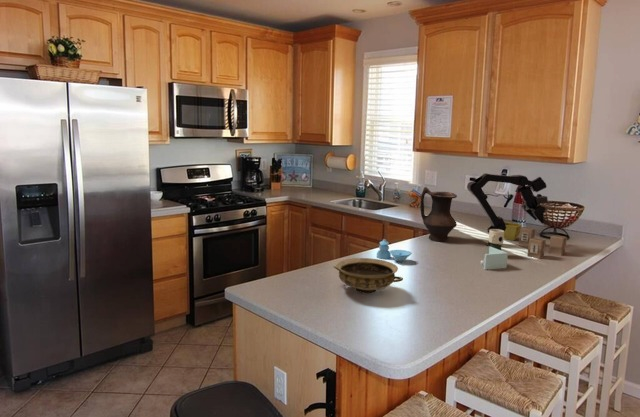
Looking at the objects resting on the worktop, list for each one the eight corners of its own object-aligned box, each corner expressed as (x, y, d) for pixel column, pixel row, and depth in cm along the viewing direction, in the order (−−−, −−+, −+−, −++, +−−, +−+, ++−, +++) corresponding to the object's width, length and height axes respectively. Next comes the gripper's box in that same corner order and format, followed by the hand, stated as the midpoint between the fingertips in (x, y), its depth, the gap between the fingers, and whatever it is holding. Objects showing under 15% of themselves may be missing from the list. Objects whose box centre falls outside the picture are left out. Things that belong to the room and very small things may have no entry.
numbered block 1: (529, 246, 269) (530, 230, 268) (518, 244, 273) (520, 228, 272) (533, 244, 274) (535, 228, 272) (523, 242, 278) (524, 227, 276)
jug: (452, 236, 287) (456, 186, 282) (458, 244, 269) (462, 190, 264) (416, 234, 289) (419, 184, 284) (419, 242, 271) (422, 188, 266)
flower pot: (516, 242, 278) (517, 226, 277) (500, 239, 284) (501, 224, 282) (520, 239, 285) (521, 224, 284) (505, 236, 291) (506, 222, 289)
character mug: (497, 258, 242) (500, 233, 239) (483, 256, 246) (485, 230, 244) (505, 254, 250) (507, 230, 248) (491, 252, 254) (494, 227, 252)
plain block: (560, 255, 251) (562, 238, 250) (548, 253, 255) (550, 236, 254) (564, 253, 255) (566, 237, 254) (552, 251, 260) (554, 235, 258)
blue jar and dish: (415, 261, 233) (416, 243, 231) (403, 266, 225) (404, 247, 224) (383, 254, 245) (384, 236, 243) (371, 258, 237) (372, 240, 235)
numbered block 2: (539, 259, 243) (541, 241, 242) (527, 256, 248) (528, 239, 246) (543, 256, 248) (545, 239, 246) (532, 254, 252) (533, 237, 251)
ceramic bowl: (414, 290, 192) (415, 266, 190) (385, 308, 173) (387, 281, 171) (349, 275, 209) (350, 252, 207) (316, 289, 190) (317, 265, 188)
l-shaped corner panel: (489, 261, 238) (490, 246, 237) (506, 268, 227) (507, 253, 225) (468, 263, 234) (470, 248, 233) (484, 270, 223) (486, 254, 221)
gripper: (549, 191, 254) (561, 218, 256) (535, 187, 272) (546, 211, 274) (529, 201, 255) (541, 227, 257) (516, 196, 273) (527, 220, 275)
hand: (539, 221), depth 266 cm, fingers open, 9 cm apart
